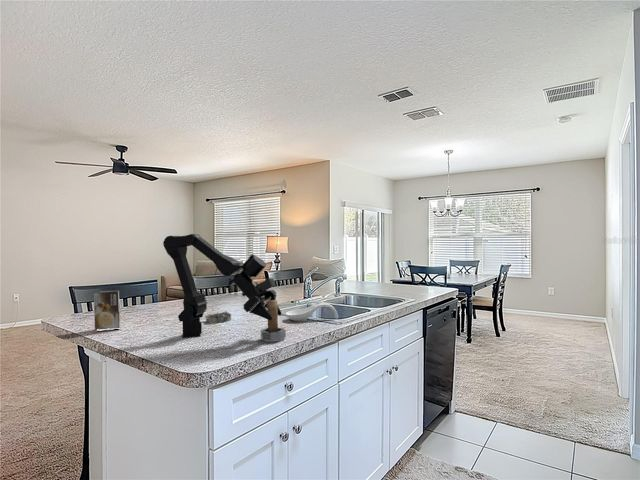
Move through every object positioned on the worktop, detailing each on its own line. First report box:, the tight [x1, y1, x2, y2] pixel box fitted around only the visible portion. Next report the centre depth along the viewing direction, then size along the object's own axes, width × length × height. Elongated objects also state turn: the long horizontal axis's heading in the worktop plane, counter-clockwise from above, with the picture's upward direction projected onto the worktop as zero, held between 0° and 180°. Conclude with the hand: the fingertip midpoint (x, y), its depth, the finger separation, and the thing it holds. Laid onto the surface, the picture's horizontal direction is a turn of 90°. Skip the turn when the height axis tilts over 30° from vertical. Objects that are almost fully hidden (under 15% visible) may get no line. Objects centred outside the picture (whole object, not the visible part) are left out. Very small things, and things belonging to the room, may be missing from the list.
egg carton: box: [205, 310, 232, 324], centre depth 172 cm, size 11×8×4 cm
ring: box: [260, 326, 287, 343], centre depth 137 cm, size 8×8×3 cm
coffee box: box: [93, 289, 121, 331], centre depth 158 cm, size 9×6×16 cm
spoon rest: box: [285, 302, 339, 322], centre depth 171 cm, size 24×12×7 cm, turn 97°
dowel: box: [266, 299, 279, 332], centre depth 137 cm, size 4×4×13 cm
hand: (276, 316), depth 137 cm, fingers open, 9 cm apart
